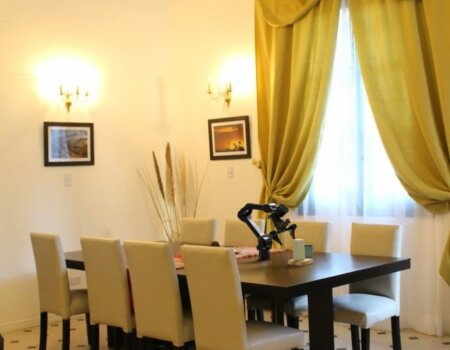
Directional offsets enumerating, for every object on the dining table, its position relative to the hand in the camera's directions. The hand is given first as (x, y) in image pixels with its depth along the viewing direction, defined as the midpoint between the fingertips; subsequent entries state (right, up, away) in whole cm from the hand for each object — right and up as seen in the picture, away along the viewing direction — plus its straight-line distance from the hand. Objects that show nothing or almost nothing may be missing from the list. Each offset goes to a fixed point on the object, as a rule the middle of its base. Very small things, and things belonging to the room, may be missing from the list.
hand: (288, 243), depth 383 cm
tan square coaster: (+6, -12, -8) cm, 16 cm away
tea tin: (+5, -9, -8) cm, 13 cm away
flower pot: (+12, -11, +7) cm, 18 cm away
